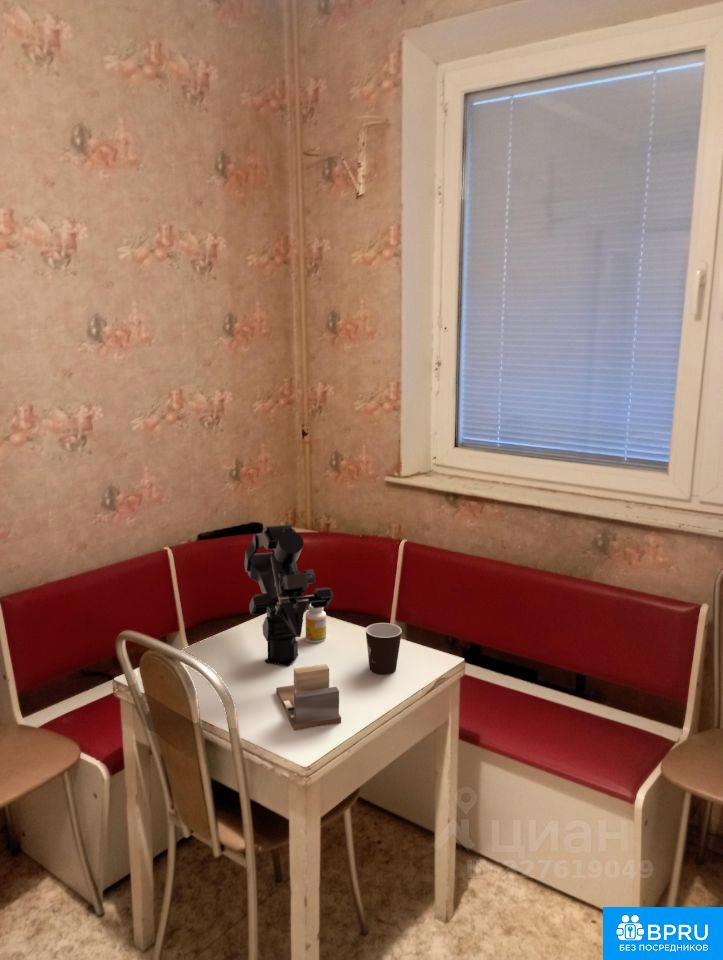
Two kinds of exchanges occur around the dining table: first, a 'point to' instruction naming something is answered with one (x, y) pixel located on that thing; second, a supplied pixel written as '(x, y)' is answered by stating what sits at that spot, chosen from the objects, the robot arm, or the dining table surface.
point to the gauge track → (310, 706)
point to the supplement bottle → (315, 624)
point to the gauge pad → (310, 678)
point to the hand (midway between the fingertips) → (298, 636)
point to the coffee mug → (383, 647)
